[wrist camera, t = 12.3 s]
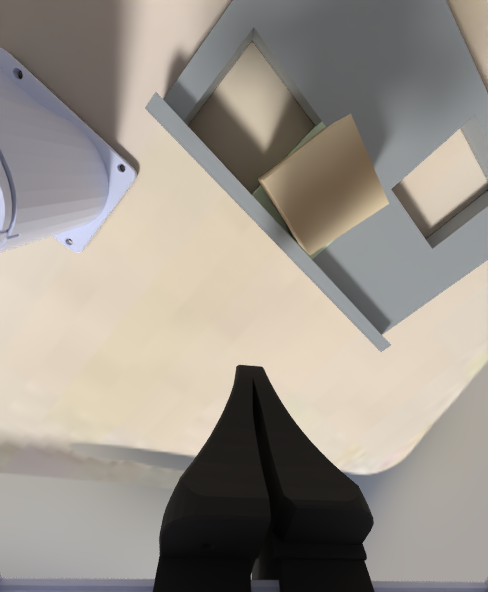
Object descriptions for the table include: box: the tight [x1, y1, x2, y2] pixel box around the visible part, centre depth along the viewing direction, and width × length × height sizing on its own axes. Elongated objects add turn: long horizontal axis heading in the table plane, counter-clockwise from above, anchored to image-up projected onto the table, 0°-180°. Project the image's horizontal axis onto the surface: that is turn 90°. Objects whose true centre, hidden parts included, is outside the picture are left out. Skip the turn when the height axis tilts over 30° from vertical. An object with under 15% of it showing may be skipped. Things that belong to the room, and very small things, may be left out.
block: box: [258, 114, 389, 255], centre depth 15 cm, size 5×5×4 cm
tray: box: [145, 0, 488, 352], centre depth 17 cm, size 24×15×3 cm, turn 45°
